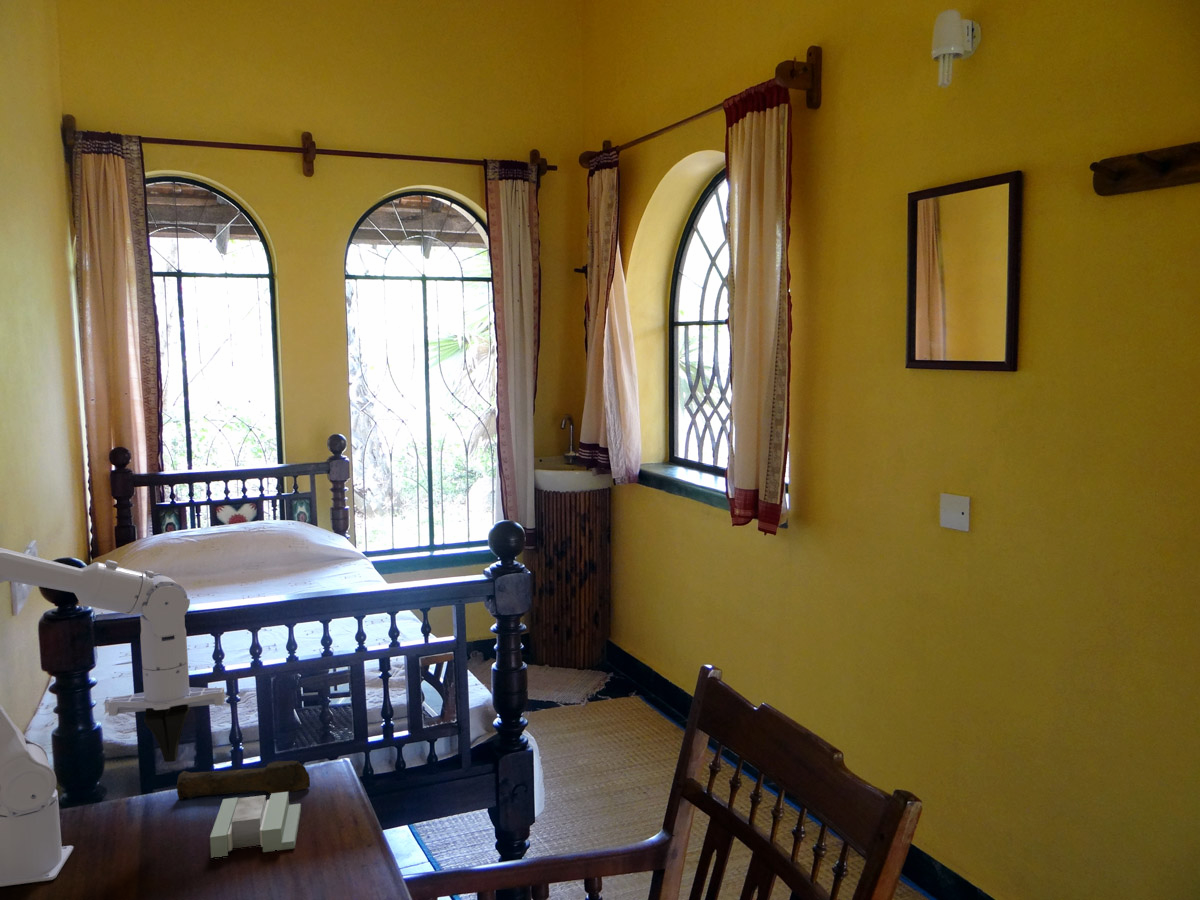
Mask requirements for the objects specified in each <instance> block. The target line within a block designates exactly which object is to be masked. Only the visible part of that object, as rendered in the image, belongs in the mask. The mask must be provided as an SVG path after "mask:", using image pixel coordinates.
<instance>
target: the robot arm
mask: <svg viewBox="0 0 1200 900" xmlns="http://www.w3.org/2000/svg"><path fill="white" fill-rule="evenodd" d="M4 582H12V583H18V584H23V585H29V586H36V587H40V588H47V589H52V590H58V591H62V592H69V593H73V594H74V595H75V597H76V598H77V600H78V602H79V603H80V604H81V605H82V606H86V607H90V608H91V607H92V608H96V609H100V610H105V611H110V612H117V613H120V614H126V615H131V616H132V615H137V614H141V615H140V616H139V618H140V637H139V638H140V653H141V654H140V655H141V666H142V682H143V683H142V684H143V685H142V686H143V692H138V693H134V694H128V695H122V696H115V697H111V698H110V700H109V701H108V702H107V707H108V708H107V709H108V716H109V717H112V716H113V717H114V716H117V715H119V714H125V713H126V714H128V713H137V712H145V717H144V718H143V720H144V723H145V726H147V728H148V729H149V731H151V733H152V734H153V737H154V738H155V740H156V742H157V744H158V747H159V748H160V752H161V754H162V758H163V762H164V763H169V762H170V763H171V762H176V760H177V759H178V756H179V746H180V745H179V744H180V740H181V736H182V732H183V729H184V725H185V723H186V720H187V717H188V715H189V711H190V710H191V708H192V707H201V706H213V705H214V706H215V707H218V706H219V707H220V706H223V705H224V703H225V687H190V675H189V659H188V641H187V640H188V639H187V629H186V625H185V624H186V623H185V619H186V617H185V615H186V614H187V613H188V611H189V608H190V604H191V599H190V598H188V594H187V592H186V590H185V588H184V587H182V585H180V584H179V583H178V582H176V581H175V580H174V579H172V578H171V577H169V576H166V575H164V574H162V573H155V572H154V571H152V570H147V569H146V570H145V571H144V572H141V571H138V570H132V569H128V568H123V567H121V566H120V567H119V563H118V562H117V561H115V560H111V559H106V560H105V563H103V562H99V561H96V562H92V563H91V564H89V565H86V566H84V567H81V568H79V567H77V566H72V565H68V564H65V563H60V562H58V561H53V560H49V559H46V558H42V557H38V556H34V555H30V554H26V553H22V552H20V551H19V552H18V551H16V550H11V549H7V548H3V547H0V584H1V583H4ZM10 717H11V716H9V715H8V713H7V711H5V708H4V707H3V705H2V704H0V887H8V886H14V885H16V886H17V885H21V884H30V883H39V882H46V881H52V880H55V879H56V878H57V877H58V875H59V873H60V872H61V870H62V868H63V866H64V865H65V863H66V862H67V860H68V858H69V857H70V855H71V854H72V852H73V851H74V846H73V845H66V846H65V845H63V846H62V834H61V833H62V832H61V821H60V820H61V819H60V809H59V808H60V805H59V795H58V794H59V793H58V790H57V789H56V788H57V776H56V773H55V771H54V769H52V768H51V765H50V763H49V759H48V755H47V752H46V750H45V748H44V747H43V746H42V745H41V744H39V743H37V742H35V741H32V740H30V739H28V738H27V737H26V736H25V734H24V733H23V732H22V730H21V729H20V728H19V727H18V726H17V725H16V724H15V723H14V721H12V719H11V718H10Z"/></svg>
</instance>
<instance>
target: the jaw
mask: <svg viewBox="0 0 1200 900" xmlns="http://www.w3.org/2000/svg"><path fill="white" fill-rule="evenodd" d="M238 799H239V797H231V798H223V799H222V802H221V804H220V807H219V811H218V813H217V816H216V818H215V821H214V824H213V828H212V830H211V833H210V836H209V840H210V841H209V843H210V858H213V857H222V856H229V854H228V852H229V853H230V852H231V851H233V841H232V824H231V821H232V818H233V815H234V812H235V809H236V805H237V802H238Z"/></svg>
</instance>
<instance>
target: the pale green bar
mask: <svg viewBox="0 0 1200 900" xmlns="http://www.w3.org/2000/svg"><path fill="white" fill-rule="evenodd" d="M269 795H270V794H269ZM289 799H290V798H289V792H281V793H272V794H271V795H270V796H269V799H266V807H265V811H264V815H263V819H262V823H261V827H260V845H261V846H260V847H261V848H262V852H263V853H267V852H276V851H275V850H277V851H285V850H291V849H295V848H296V843H297V838H298V837H297V835H298V829H299V824H300V819H301V818H300V817H301V813H302V812H301V811H302V809H301V808H302V805H301V803H294V804H290V801H289Z"/></svg>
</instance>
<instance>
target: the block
mask: <svg viewBox="0 0 1200 900" xmlns="http://www.w3.org/2000/svg"><path fill="white" fill-rule="evenodd" d="M266 803H267V795H266V794H265V795H264V794H263V795H256V796H254V795H253V796H249V797H248V796H247V797H238V802H237V805H236V809H235V812H234V815H233V818H232V821H231V824H232V841H233V848H236V847H237V848H241V847H247V846H256V845H260V827H261V823H262V819H263V815H264V811H265V807H266ZM256 847H257V846H256ZM233 848H232V849H233ZM241 849H242V848H241Z"/></svg>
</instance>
